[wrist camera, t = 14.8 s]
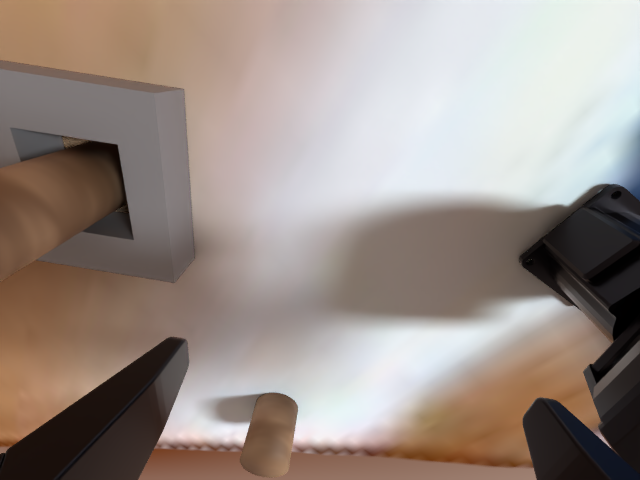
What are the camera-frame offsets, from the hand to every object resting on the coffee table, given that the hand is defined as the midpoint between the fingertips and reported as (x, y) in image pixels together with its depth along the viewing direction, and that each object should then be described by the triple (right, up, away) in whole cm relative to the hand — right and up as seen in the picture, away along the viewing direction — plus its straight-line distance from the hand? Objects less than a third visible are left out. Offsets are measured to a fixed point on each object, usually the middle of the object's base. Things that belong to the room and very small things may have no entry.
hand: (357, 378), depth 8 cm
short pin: (-5, -12, +22) cm, 26 cm away
